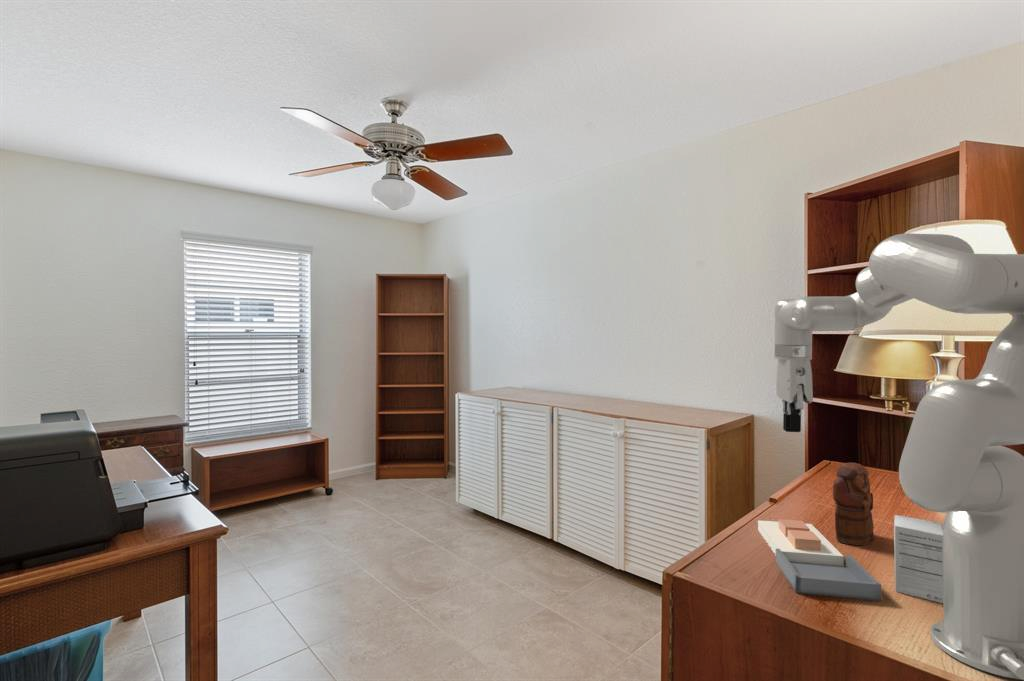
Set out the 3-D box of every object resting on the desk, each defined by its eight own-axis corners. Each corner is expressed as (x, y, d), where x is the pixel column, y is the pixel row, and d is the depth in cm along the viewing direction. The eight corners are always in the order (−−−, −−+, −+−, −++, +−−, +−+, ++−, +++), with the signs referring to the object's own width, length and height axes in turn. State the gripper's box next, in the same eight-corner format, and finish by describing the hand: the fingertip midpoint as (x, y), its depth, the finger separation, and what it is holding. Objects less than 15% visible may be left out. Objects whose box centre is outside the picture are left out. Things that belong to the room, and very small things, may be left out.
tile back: (809, 538, 110) (809, 528, 110) (785, 536, 111) (785, 527, 111) (802, 529, 115) (801, 520, 115) (778, 528, 116) (778, 519, 116)
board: (843, 567, 101) (843, 556, 101) (780, 562, 104) (780, 551, 104) (811, 533, 118) (811, 524, 118) (758, 529, 121) (757, 520, 121)
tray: (881, 601, 88) (881, 584, 88) (796, 592, 91) (795, 577, 91) (849, 568, 100) (849, 554, 100) (775, 562, 104) (775, 548, 103)
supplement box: (894, 576, 97) (894, 513, 97) (944, 588, 92) (943, 522, 92) (894, 591, 91) (893, 524, 91) (946, 605, 86) (946, 534, 86)
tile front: (821, 550, 104) (820, 540, 104) (795, 548, 105) (795, 538, 105) (812, 541, 108) (812, 531, 108) (787, 539, 110) (787, 529, 110)
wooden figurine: (863, 550, 109) (862, 470, 109) (830, 541, 114) (830, 465, 114) (878, 536, 117) (877, 461, 117) (847, 528, 122) (846, 456, 121)
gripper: (824, 354, 104) (823, 439, 104) (798, 351, 118) (797, 425, 119) (786, 354, 105) (785, 438, 106) (765, 350, 120) (764, 424, 121)
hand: (791, 431), depth 113 cm, fingers closed
